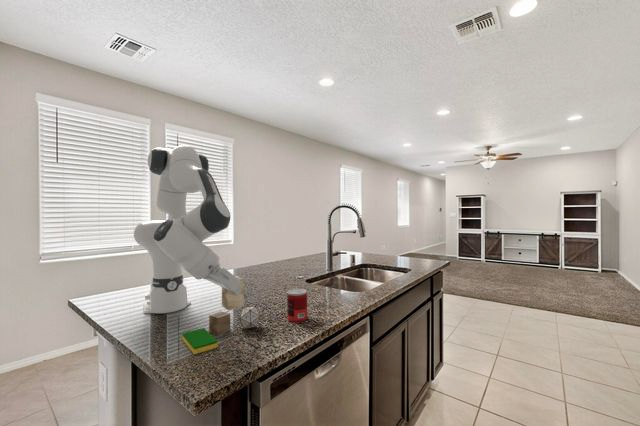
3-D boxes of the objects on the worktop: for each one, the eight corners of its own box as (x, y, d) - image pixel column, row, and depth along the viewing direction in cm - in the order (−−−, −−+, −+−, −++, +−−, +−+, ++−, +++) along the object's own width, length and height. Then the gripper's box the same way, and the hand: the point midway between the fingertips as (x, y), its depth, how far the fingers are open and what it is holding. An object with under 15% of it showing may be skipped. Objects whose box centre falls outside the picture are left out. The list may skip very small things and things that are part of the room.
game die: (252, 340, 104) (254, 324, 98) (232, 330, 106) (232, 313, 100) (265, 320, 111) (267, 304, 105) (245, 311, 113) (246, 295, 107)
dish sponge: (194, 355, 86) (194, 347, 86) (182, 340, 97) (181, 333, 97) (218, 348, 91) (218, 340, 91) (203, 334, 102) (203, 327, 102)
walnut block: (209, 332, 102) (209, 315, 102) (221, 327, 107) (220, 311, 107) (218, 335, 100) (218, 318, 100) (230, 330, 104) (230, 313, 104)
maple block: (221, 306, 93) (221, 278, 93) (236, 302, 96) (236, 275, 96) (228, 310, 89) (228, 281, 89) (243, 306, 93) (243, 278, 93)
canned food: (310, 316, 117) (309, 289, 116) (302, 324, 109) (302, 294, 109) (292, 314, 119) (292, 287, 119) (284, 321, 111) (283, 293, 111)
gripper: (226, 260, 80) (257, 289, 87) (199, 252, 95) (227, 277, 102) (210, 279, 77) (243, 307, 84) (184, 267, 93) (214, 292, 99)
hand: (234, 290), depth 93 cm, fingers closed on maple block, 5 cm apart
